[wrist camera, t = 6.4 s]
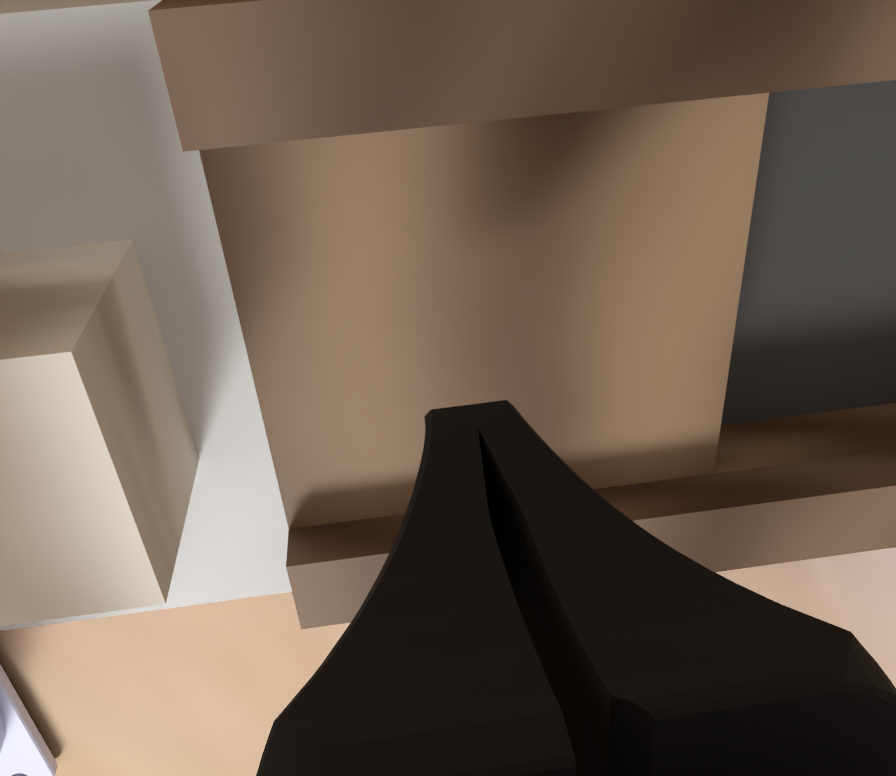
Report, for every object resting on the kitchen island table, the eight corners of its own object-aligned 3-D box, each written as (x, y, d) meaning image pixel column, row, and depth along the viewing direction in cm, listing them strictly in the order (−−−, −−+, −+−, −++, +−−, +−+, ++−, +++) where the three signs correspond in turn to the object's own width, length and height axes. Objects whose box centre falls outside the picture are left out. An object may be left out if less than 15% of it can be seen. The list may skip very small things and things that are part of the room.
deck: (-7, 574, 21) (-58, 679, 18) (-297, 26, 14) (-453, 64, 11) (957, 447, 22) (1042, 526, 20) (1149, -101, 15) (1325, -96, 12)
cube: (-44, 490, 17) (-138, 644, 13) (-159, 270, 14) (-313, 395, 11) (198, 460, 17) (165, 603, 14) (132, 239, 14) (70, 351, 11)
